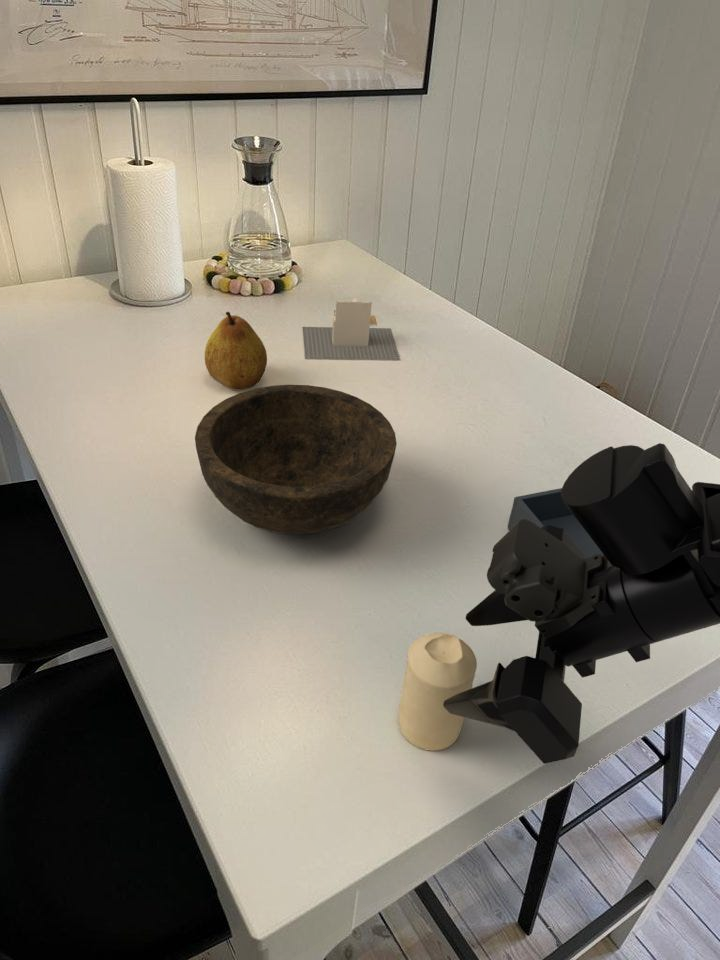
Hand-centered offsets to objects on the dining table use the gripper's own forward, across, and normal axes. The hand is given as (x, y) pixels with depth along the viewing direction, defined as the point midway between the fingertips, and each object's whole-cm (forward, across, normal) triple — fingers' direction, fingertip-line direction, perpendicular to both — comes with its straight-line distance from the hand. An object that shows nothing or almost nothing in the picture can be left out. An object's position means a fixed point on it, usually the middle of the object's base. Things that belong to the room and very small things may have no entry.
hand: (458, 661), depth 60 cm
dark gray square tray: (-2, -28, +14) cm, 31 cm away
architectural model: (+27, -66, -14) cm, 73 cm away
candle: (+7, 0, +6) cm, 9 cm away
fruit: (+35, -48, -22) cm, 63 cm away
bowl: (+22, -24, -10) cm, 34 cm away
